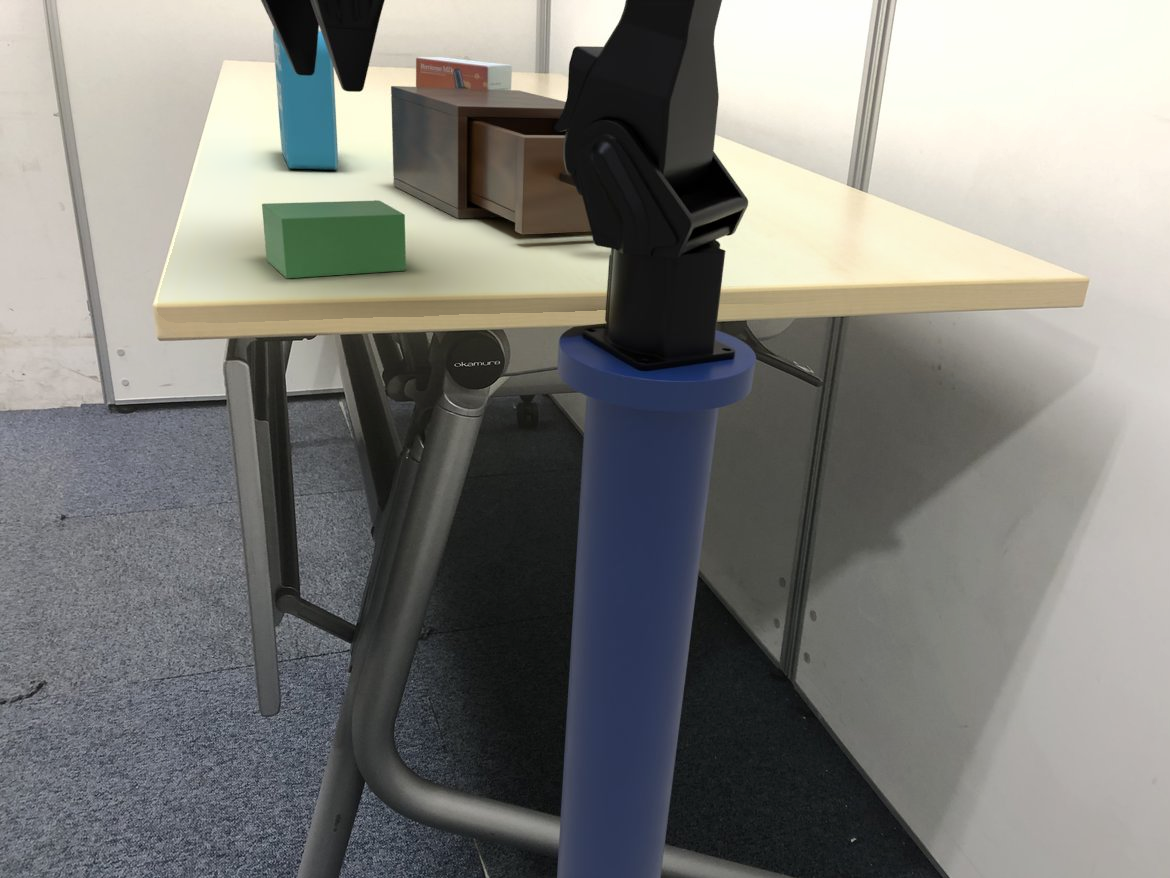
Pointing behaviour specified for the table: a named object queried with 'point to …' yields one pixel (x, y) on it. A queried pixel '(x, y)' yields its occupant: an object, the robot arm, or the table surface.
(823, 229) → the table surface
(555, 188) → the drawer
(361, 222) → the green block
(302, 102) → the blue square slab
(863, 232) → the table surface
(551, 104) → the cabinet
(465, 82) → the small box
